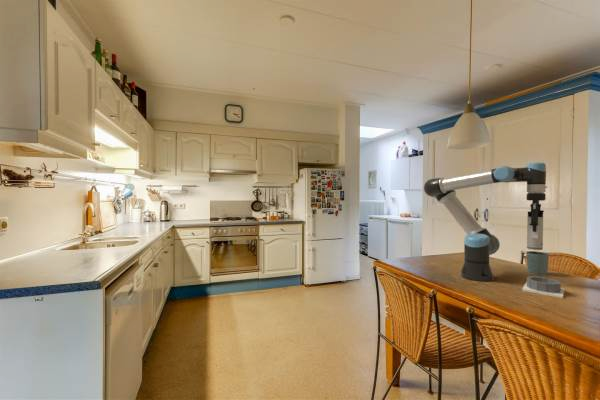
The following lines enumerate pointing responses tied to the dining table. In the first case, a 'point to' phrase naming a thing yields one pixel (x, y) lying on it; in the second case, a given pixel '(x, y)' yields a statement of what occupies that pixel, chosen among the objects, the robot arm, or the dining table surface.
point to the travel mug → (534, 242)
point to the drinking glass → (537, 262)
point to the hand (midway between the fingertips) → (535, 237)
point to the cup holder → (544, 286)
